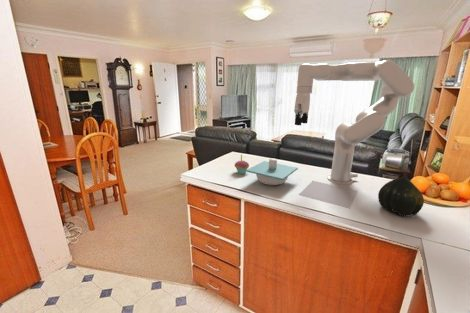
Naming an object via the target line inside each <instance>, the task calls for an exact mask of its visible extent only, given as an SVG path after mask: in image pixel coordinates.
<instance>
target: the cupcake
mask: <svg viewBox="0 0 470 313" xmlns="http://www.w3.org/2000/svg"><path fill="white" fill-rule="evenodd" d="M234 167H235V169H236V172H237V173H238V174H240V175H245V174H246V173H247V172H246V170H247V169H249V168H250V164H249V162H247V161H245V160H243V155H242V153H241V154H240V160H238V161H236V162H235V163H234Z"/></svg>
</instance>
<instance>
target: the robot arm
mask: <svg viewBox="0 0 470 313" xmlns="http://www.w3.org/2000/svg"><path fill="white" fill-rule="evenodd" d="M297 71H298V72H297V83H296V85H297V86H296V97H295V101H294V102H295V103H294V108H293V109H294V110H293V112H294V113H295V115H294V117H295V118H294V125H295V126H301V125H302V124H308V119H309V118H308V117H309V111H310V105H311V104H310V103H311V94H313V84H314V80H315V81H318V82H319V81H343V82H348V81H349V82H359V81H362V82H369V81H370V82H375V81H382V82H383V83H384V85H383V86H382V90H381V96H380V97H379V99H378V100H377V101H376V102H375V103H373V104H372V105H370V106H369V107H367V108H366V109H364V110H362V111H361V112H359V114H357V115H356V118H355V123H351V122H343V123H340V124H339V125H338V126H337V128H336V129H335V138H334V150H333V151H334V152H333V156H332V157H333V158H332V163H331V164H332V165H331V171H330V172H331V173H330V174H329V175H328V176H327V177H326V178H327V180H328V181H329V182H331V183H334V184H337V185H350V184H352V183H353V178H358V177H359V176H358V174H357V173H352V165H353V160H354V155H355V147H356V146H355V145H358V144H360V143H362V142H363V141H366V140H367V139H369V138H370V137H372V136H373V135H375V134H376V133H378V132H380V130H382V129H383V127H384V126H385V123H386V117H387V116H389V115H390V114H392V113H393V112H394V111H395V109H396V108H397V106H398V102H399V99H401V98H406V97H408V96H410V95H411V94H412V93H413V92H414V89H415V83H414V81H413V80H412V78H411V77H410V76H409V74H407V73H406V72H405V71H404V70H403V69H402V67H400V66H399V64H397V63H396V62H395V61H393V60H391V59H386V60H385V59H384V60H382V61H360V62H359V61H355V62H354V61H353V62H347V63H343V64H334V65H333V64H331V65H330V64H329V63H316V64H312V63H311V64H310V63H303V64H299V67H298V70H297Z"/></svg>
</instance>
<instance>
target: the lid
mask: <svg viewBox="0 0 470 313" xmlns="http://www.w3.org/2000/svg"><path fill="white" fill-rule="evenodd" d="M297 170H299V168H298V167H296V166H291V165H286V164H281V163H278V159H277V158H269V159H268V160H262V161H261V162H259V163H257V164H255V165H253V166H252V167H248V168H247V170H246V173H250V174H255V175H256V174H258V175H263V176H267V177H271V178H275V179H279V180H284V179H285V178H286V177H289V176H290V175H292V174H293V173H295V172H296V171H297Z"/></svg>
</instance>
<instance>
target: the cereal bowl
mask: <svg viewBox="0 0 470 313" xmlns="http://www.w3.org/2000/svg"><path fill="white" fill-rule="evenodd" d="M255 176H256V178H257V180H258V181H259V182H261V183H263V184H265V185H267V186H270V187H271V186H273V187H274V186H279V185H281V184H284V183H285V182H286V181H287V180H288V177H289V176H288V177H286V178H285V179H284V180H279V179H275V178H271V177H267V176H263V175H258V174H255Z"/></svg>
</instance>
